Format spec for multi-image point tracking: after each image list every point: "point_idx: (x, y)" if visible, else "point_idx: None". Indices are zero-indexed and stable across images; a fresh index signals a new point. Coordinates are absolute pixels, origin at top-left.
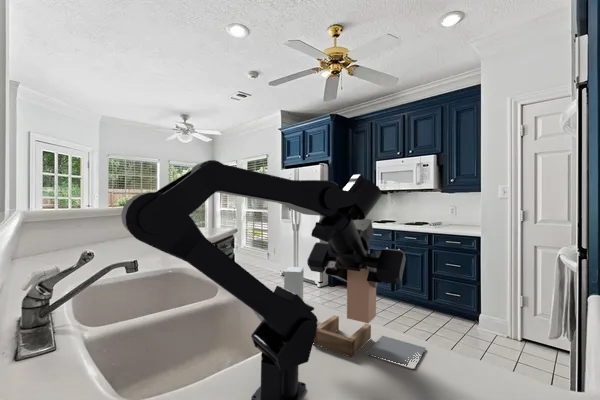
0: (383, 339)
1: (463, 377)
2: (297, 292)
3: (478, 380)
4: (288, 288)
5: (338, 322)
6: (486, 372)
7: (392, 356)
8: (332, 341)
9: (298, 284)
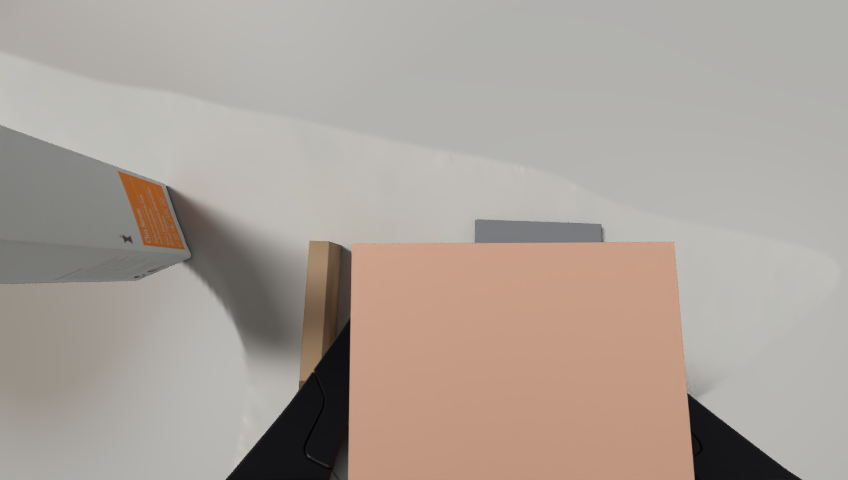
0: (487, 242)
1: (701, 313)
2: (77, 255)
3: (730, 306)
4: (6, 274)
5: (334, 245)
6: (740, 257)
7: None
8: None
9: (29, 250)
